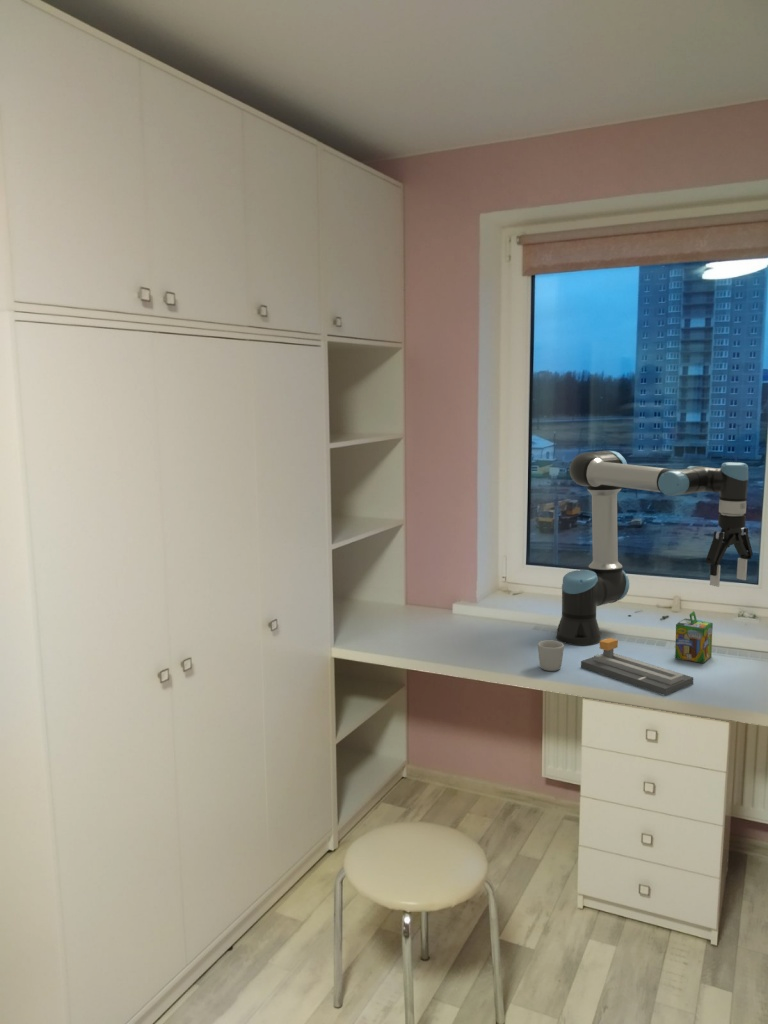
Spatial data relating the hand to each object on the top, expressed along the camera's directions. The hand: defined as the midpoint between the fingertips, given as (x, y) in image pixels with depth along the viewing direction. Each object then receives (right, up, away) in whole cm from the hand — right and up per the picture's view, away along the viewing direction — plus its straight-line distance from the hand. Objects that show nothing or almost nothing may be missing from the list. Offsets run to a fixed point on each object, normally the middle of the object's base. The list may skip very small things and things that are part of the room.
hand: (728, 582), depth 242 cm
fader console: (-29, -28, -1) cm, 40 cm away
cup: (-53, -27, +7) cm, 60 cm away
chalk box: (-5, -26, +14) cm, 30 cm away
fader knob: (-35, -25, +6) cm, 43 cm away
